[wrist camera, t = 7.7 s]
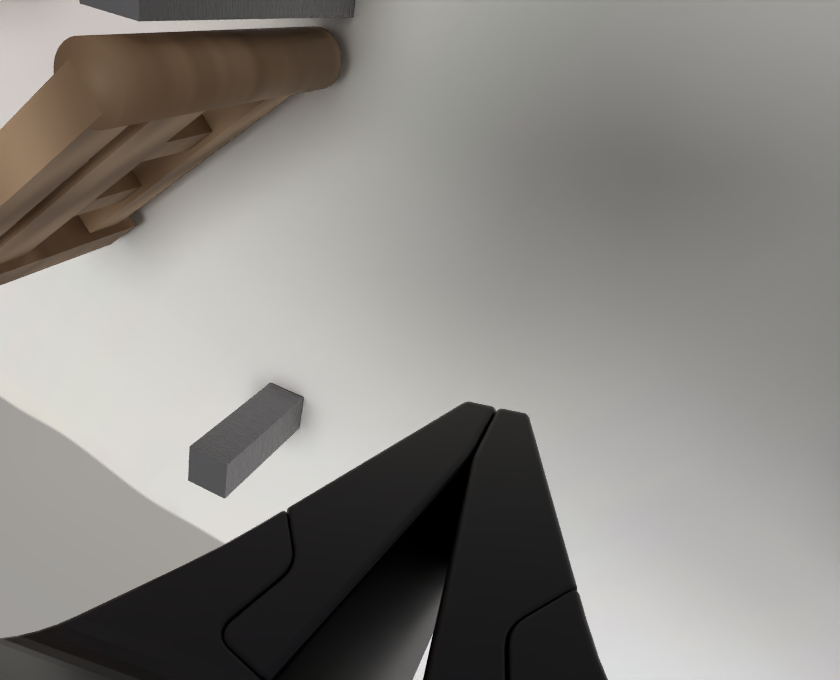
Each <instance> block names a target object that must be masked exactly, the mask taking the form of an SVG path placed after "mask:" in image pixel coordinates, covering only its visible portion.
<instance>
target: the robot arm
mask: <svg viewBox="0 0 840 680" xmlns="http://www.w3.org/2000/svg"><path fill="white" fill-rule="evenodd" d="M432 634H433V637H432V641H431V646H430V650H429V655H428V659H427V664H426V668H425V673H424V678H423V680H608V679H607V677H606V674H605V672H604V669H603V667H602V664H601V662H600V659H599V657H598V654H597V651H596V647H595V644H594V641H593V638H592V635H591V632H590V629H589V626H588V623H587V620H586V616H585V613H584V609H583V606H582V602H581V599H580V595H579V593H578V592H577V586H576V582H575V579H574V575H573V572H572V568H571V565H570V561H569V557H568V554H567V550H566V547H565V543H564V540H563V536H562V533H561V529H560V526H559V522H558V518H557V515H556V511H555V508H554V504H553V501H552V497H551V494H550V490H549V486H548V483H547V479H546V476H545V472H544V469H543V465H542V462H541V458H540V455H539V451H538V447H537V444H536V440H535V437H534V433H533V430H532V426H531V423H530V419H529V417H528V415H527V414H525V413H520V412H516V411H511V410H506V409H499V410H497V411H496V410H495V408H494V407H492V406H487V405H482V404H478V403H473V402H465V403H463V404H461V405H459V406H458V407H456V408H454V409H453V410H451V411H449V412H448V413H446V414H444V415H443V416H441V417H439V418H438V419H436V420H434V421H433V422H431V423H429V424H428V425H426V426H424V427H423V428H421V429H419V430H418V431H416V432H414V433H413V434H411V435H409V436H408V437H406V438H404V439H403V440H401V441H399V442H398V443H396V444H394V445H392V446H391V447H389V448H387V449H386V450H384V451H382V452H381V453H379V454H377V455H376V456H374V457H372V458H371V459H369V460H367V461H366V462H364V463H362V464H361V465H359V466H357V467H356V468H354V469H352V470H351V471H349V472H347V473H346V474H344V475H342V476H341V477H339V478H337V479H336V480H334V481H332V482H331V483H329V484H327V485H326V486H324V487H322V488H321V489H319V490H317V491H316V492H314V493H312V494H311V495H309V496H307V497H305V498H304V499H302V500H300V501H299V502H297V503H295V504H294V505H292V506H290V507H289V508H288V509H287V512H285V511H282V512H280V513H278V514H277V515H275V516H273V517H272V518H270V519H268V520H267V521H265V522H263V523H262V524H260V525H258V526H256V527H255V528H253V529H251V530H249V531H247V532H246V533H244V534H242V535H240V536H239V537H237V538H235V539H233V540H231V541H230V542H228V543H226V544H224V545H222V546H221V547H219V548H217V549H215V550H213V551H211V552H209V553H207V554H205V555H203V556H201V557H199V558H197V559H195V560H193V561H191V562H189V563H187V564H185V565H183V566H181V567H179V568H177V569H174V570H172V571H170V572H168V573H166V574H164V575H162V576H160V577H158V578H156V579H153V580H152V581H149V582H147V583H145V584H143V585H141V586H139V587H137V588H135V589H133V590H130V591H128V592H126V593H124V594H122V595H120V596H118V597H116V598H114V599H111V600H109V601H107V602H105V603H103V604H101V605H99V606H97V607H95V608H93V609H90V610H88V611H86V612H84V613H82V614H80V615H78V616H76V617H73V618H71V619H69V620H66V621H64V622H62V623H59V624H57V625H54V626H51V627H48V628H45V629H42V630H39V631H36V632H32V633H28V634H24V635H20V636H13V637H6V638H0V680H412V679H413V677H414V675H415V673H416V670H417V668H418V666H419V664H420V661H421V659H422V657H423V654H424V652H425V650H426V648H427V645H428V643H429V641H430V639H431V636H432Z"/></svg>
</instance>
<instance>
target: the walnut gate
mask: <svg viewBox="0 0 840 680" xmlns="http://www.w3.org/2000/svg"><path fill="white" fill-rule="evenodd" d="M341 64H342V57H341V51H340V48H339V45H338V43H337V41H336V40H335V38H334V37H333V36H332V35H331V34H330V33H329V32H328V31H327V30H325V29H323V28H320V27H315V26H312V27H287V28H262V29H236V30H211V31H186V32H161V33H136V34H111V35H86V36H73V37H70V38H68V39H66V40H65V41H64V42H63V43H62V44H61V45H60V46H59V48H58V50H57V53H56V55H55V60H54V75H53V76H52V77H51V78H50V79H49V80H48V81H47V82H46V83H45V84H44V85H43V86H42V87H41V88H40V89H39V90H38V91H37V92H36V93H35V94H34V96H33V97H32V98H31V99H30V100H29V101H28V102H27V103H26V104H25V105H24V106H23V107H22V108H21V109H20V110H19V111H18V112H17V113H16V114H15V115H14V116H13V117H12V118H11V119H10V120H9V121H8V122H7V123H6V124H5V126H4V127H3V128H2V129H1V130H0V285H2V284H5V283H8V282H10V281H13V280H16V279H18V278H21V277H24V276H26V275H29V274H32V273H34V272H37V271H40V270H43V269H45V268H48V267H51V266H53V265H56V264H59V263H61V262H64V261H67V260H69V259H72V258H75V257H77V256H80V255H83V254H86V253H88V252H91V251H94V250H96V249H99V248H102V247H104V246H107V245H110V244H112V243H113V242H114V241H116V240H117V239H119V238H120V237H121V236H123V235H124V234H125V233H127V232H128V231H130V230H131V229H132V228H134V227H135V226H136V225H135V223H134V221H133V220H132V218H131V217H130V215H131V214H132V213H133V212H135V211H136V210H137V209H139V208H140V207H142V206H143V205H144V204H146V203H147V202H148V201H150V200H151V199H152V198H154V197H155V196H156V195H158V194H159V193H160V192H162V191H163V190H164V189H166V188H167V187H168V186H170V185H171V184H172V183H174V182H175V181H176V180H178V179H179V178H181V177H182V176H183V175H185V174H186V173H187V172H189V171H190V170H191V169H193V168H194V167H195V166H197V165H198V164H199V163H201V162H202V161H203V160H205V159H206V158H207V157H209V156H210V155H211V154H213V153H214V152H216V151H217V150H218V149H220V148H221V147H222V146H224V145H225V144H226V143H228V142H229V141H230V140H232V139H233V138H234V137H236V136H237V135H238V134H240V133H241V132H242V131H244V130H245V129H246V128H248V127H249V126H250V125H252V124H253V123H255V122H256V121H257V120H259V119H260V118H261V117H263V116H264V115H265V114H267V113H268V112H269V111H271V110H272V109H273V108H275V107H276V106H277V105H279V104H280V103H281V102H283V101H284V100H285V99H287V98H288V97H290V96H291V95H292V94H297V93H302V92H308V91H313V90H318V89H323V88H326V87H328V86H330V85H331V84H333V83H334V82H335V80H336V79H337V77H338V75H339V73H340V70H341Z"/></svg>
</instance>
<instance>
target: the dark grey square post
mask: <svg viewBox="0 0 840 680" xmlns="http://www.w3.org/2000/svg"><path fill="white" fill-rule="evenodd" d="M80 4H84V5H87V6H90V7H94V8H97V9H100V10H104V11H107V12H110V13H113V14H117V15H120V16H123V17H127V18H130V19H133V20H137V21H176V20H227V19H278V18H328V17H353V12H354V5H355V0H80ZM302 404H303V397H301V396H299V395H296V394H294V393H292V392H289V391H287V390H285V389H283V388H280V387H278V386H276V385H274V384H271V383H269V384H268V385H267V386H266V387H264V388H263V389H262V390H261V391H259V392H258V393H257V394H256V395H254V396H253V397H252V398H250V399H249V400H248V401H247V402H245V403H244V404H243V405H242V406H240V407H239V408H238V409H237V410H235V411H234V412H233V413H232V414H230V415H229V416H228V417H227V418H225V419H224V420H223V421H221V422H220V423H219V424H218V425H216V426H215V427H214V428H213V429H211V430H210V431H209V432H208V433H206V434H205V435H204V436H203V437H201V438H200V439H199V440H197V441H196V442H195V443H194V444H192V445H191V446H190V452H189V475H188V481H190V482H192V483H194V484H196V485H198V486H200V487H202V488H204V489H206V490H209V491H211V492H213V493H215V494H217V495H219V496H221V497H223V498H226V497H227V496H228V495H229V494H230V493H231V492H232V491H233V490H234V489H235V488H237V487H238V486H239V485H240V484H241V483H242V482H243V481H244V480H245V479H246V478H247V477H248V476H249V475H250V474H251V473H252V472H253V471H254V470H256V469H257V468H258V467H259V466H260V465H261V464H262V463H263V462H264V461H265V460H266V459H267V458H268V457H269V456H270V455H271V454H272V453H274V452H275V451H276V450H277V449H278V448H279V447H280V446H281V445H282V444H283V443H284V442H285V441H286V440H287V439H288V438H289V437H290V436H291V435H293V434H294V433H295V432H296V431H297V430H298V429H299V425H300V418H301V411H302Z"/></svg>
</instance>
